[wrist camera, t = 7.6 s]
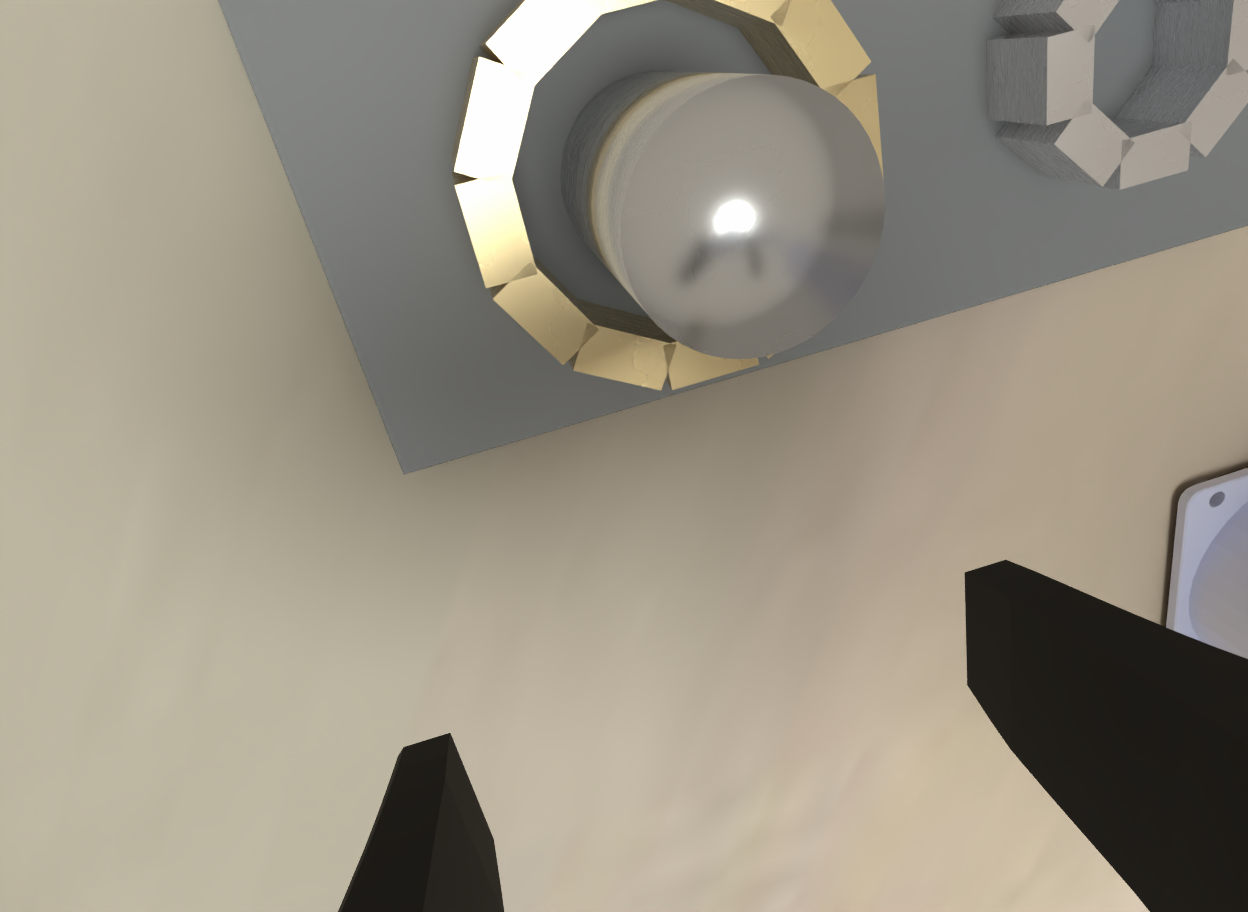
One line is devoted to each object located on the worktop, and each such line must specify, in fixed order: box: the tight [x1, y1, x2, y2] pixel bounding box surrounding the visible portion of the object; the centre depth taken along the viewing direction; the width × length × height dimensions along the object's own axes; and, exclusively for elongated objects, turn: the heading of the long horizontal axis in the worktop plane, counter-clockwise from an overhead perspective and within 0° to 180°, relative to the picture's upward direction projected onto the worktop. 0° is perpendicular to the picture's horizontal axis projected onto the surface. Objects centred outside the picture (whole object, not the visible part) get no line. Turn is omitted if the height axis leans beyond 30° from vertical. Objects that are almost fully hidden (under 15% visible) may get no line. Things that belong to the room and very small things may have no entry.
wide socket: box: [451, 0, 883, 390], centre depth 17 cm, size 8×8×2 cm
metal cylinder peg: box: [560, 71, 885, 359], centre depth 15 cm, size 4×4×6 cm
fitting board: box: [218, 0, 1248, 474], centre depth 18 cm, size 22×10×1 cm, turn 102°
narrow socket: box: [985, 0, 1248, 190], centre depth 17 cm, size 5×5×2 cm
